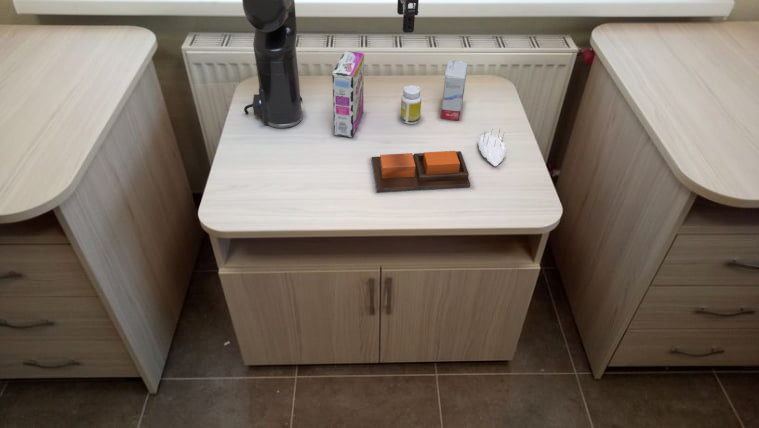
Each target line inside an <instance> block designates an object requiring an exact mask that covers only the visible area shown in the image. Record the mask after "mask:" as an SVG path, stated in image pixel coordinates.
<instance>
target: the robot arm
mask: <svg viewBox="0 0 759 428" xmlns="http://www.w3.org/2000/svg"><path fill="white" fill-rule="evenodd" d="M295 1H296V0H241V2H242V10H243V13H244V16H245V17H246V19H247V21H248V23H249V24H250V25H251V26H252V27H253V28H254V36H253V41H252V42H253V43H252V45H253V53H254V59H255V66H256V74H257V80H258V93H255V94H253V98H252V103H251V104H247V105H245V106H244V107H243V111H244V113H245V114H246V115H248V114H249V111H248V109H250V108H252V111H253V115H254V116H262V123H263V126H269V127H271V128H272V127H273V128H276V129H287V128H291V127H293V126H296V125H298V124H300V123H301V121H302V120H303V118H304V117H303V108H302V104H303V98H302V96H301V88H300V79H299V78H300V76H299V67H298V55H297V34H298V33H297V15H296V4H295V3H296V2H295ZM419 1H420V0H397V5H396V7H397V8H396V9H397V10H396V12H397V15H398V16H399V15H400V16H401V15H402V16H403V17H402V32H403V33H407V34H408V33H409V34H411V33H413V32H414V31H415V19H416V16H419ZM409 4H412V7H409Z"/></svg>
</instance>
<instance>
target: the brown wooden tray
mask: <svg viewBox="0 0 759 428" xmlns="http://www.w3.org/2000/svg"><path fill="white" fill-rule="evenodd" d="M455 151H456V150H455ZM456 154H457V157H458V159H459V162H460V166H459V173H440V174H426V173H425V169H424V165H423V157H424V152H418V153H417V152H416V153H413V152H410V153H390V154H389V153H388V154H379V156H371V165H372V172H373V178H374V184H375V193H379V194H380V193H396V192H413V191H430V190H432V191H433V190H448V189H449V190H450V189H467V188H471V181H470V178H469V176H470V175H469V174H470V173H469V170H468V168H467V164H466V162H465V159H464V156H463V154H462V151H461V150H458V151H456Z"/></svg>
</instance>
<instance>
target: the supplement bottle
mask: <svg viewBox="0 0 759 428" xmlns="http://www.w3.org/2000/svg"><path fill="white" fill-rule="evenodd" d="M400 102H401V103H400V121H401V122H402V123H404V124H406V125H415V124H418V123H419V122H420V120H421V111H422V110H421V109H422V96H421V88H420V87H419V86H418V85H415V84H409V85H405V86H404V87H403V90H402V95H401V101H400Z"/></svg>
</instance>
